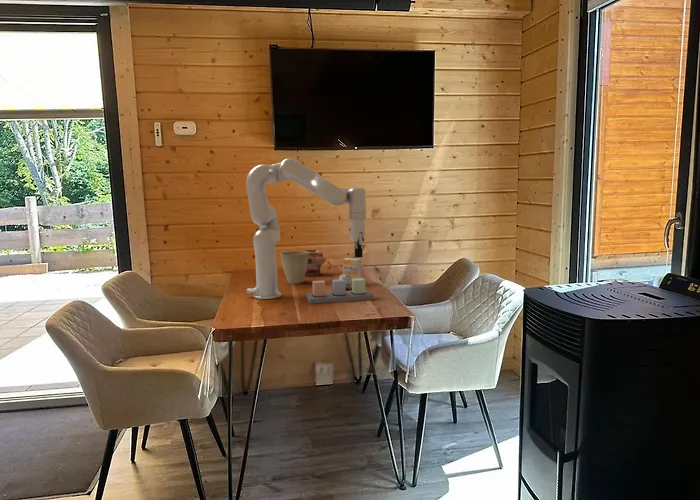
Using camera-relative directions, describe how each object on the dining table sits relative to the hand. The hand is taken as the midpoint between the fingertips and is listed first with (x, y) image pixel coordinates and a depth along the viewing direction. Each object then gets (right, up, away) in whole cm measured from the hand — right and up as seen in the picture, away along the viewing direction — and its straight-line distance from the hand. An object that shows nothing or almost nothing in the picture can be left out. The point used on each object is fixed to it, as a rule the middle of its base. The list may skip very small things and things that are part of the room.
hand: (358, 257), depth 219 cm
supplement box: (-3, -14, +33) cm, 36 cm away
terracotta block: (-18, -17, -2) cm, 24 cm away
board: (-9, -19, +1) cm, 21 cm away
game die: (-6, -16, +20) cm, 27 cm away
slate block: (-9, -16, 0) cm, 19 cm away
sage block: (0, -16, +2) cm, 16 cm away
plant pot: (-33, -14, +39) cm, 53 cm away
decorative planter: (-27, -11, +61) cm, 68 cm away
